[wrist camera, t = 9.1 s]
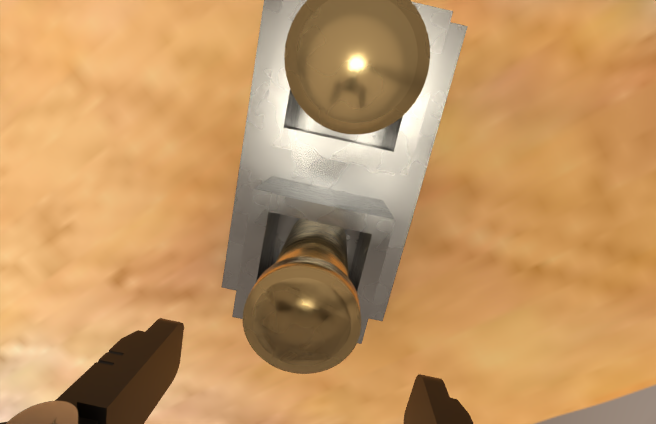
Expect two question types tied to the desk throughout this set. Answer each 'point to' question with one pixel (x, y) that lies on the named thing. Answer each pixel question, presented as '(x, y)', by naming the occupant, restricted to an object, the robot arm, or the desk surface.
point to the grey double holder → (340, 134)
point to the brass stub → (305, 303)
